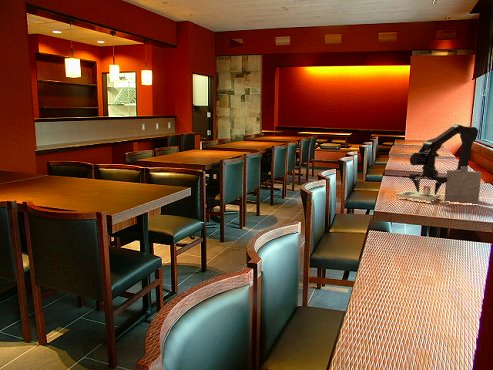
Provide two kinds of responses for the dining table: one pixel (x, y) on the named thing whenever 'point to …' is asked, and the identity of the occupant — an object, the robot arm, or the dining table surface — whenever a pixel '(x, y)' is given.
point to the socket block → (418, 195)
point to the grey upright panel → (463, 186)
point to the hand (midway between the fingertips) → (426, 193)
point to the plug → (426, 191)
